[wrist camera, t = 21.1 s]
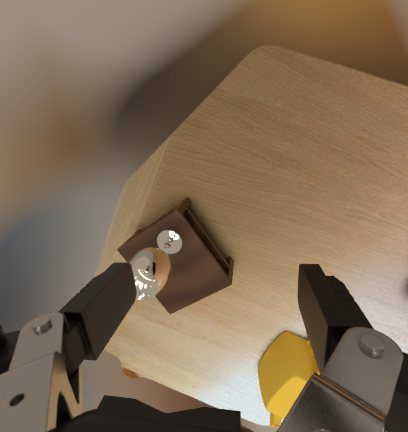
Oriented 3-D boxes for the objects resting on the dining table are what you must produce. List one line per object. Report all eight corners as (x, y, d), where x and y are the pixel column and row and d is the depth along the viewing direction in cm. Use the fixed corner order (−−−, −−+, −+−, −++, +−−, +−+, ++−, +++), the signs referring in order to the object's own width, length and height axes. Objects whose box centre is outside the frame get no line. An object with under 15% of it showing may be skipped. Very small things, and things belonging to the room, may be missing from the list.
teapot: (290, 396, 58) (301, 458, 47) (245, 374, 58) (245, 431, 47) (340, 343, 50) (366, 402, 39) (287, 318, 50) (299, 370, 39)
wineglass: (153, 255, 41) (119, 300, 30) (152, 224, 39) (115, 261, 28) (186, 258, 40) (163, 307, 29) (186, 227, 38) (162, 266, 27)
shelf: (136, 232, 49) (116, 249, 42) (188, 197, 45) (177, 209, 37) (180, 288, 52) (170, 314, 45) (233, 261, 48) (231, 284, 40)
